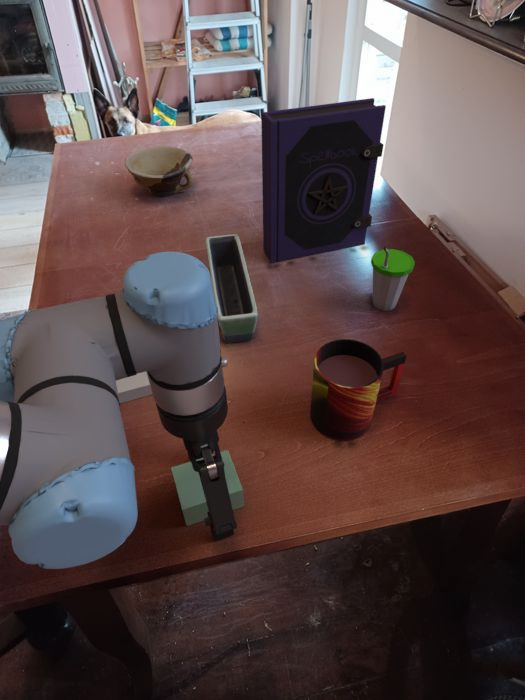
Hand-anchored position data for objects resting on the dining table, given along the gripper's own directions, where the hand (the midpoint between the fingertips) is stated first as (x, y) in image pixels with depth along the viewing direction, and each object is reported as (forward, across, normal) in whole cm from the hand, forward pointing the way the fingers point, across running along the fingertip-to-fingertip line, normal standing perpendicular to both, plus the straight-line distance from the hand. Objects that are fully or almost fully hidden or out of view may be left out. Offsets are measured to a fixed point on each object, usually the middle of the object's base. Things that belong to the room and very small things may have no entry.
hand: (210, 494), depth 66 cm
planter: (0, +40, -16) cm, 43 cm away
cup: (+1, +28, -44) cm, 52 cm away
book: (+1, +52, -40) cm, 65 cm away
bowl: (0, +93, -13) cm, 94 cm away
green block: (0, 0, 0) cm, 0 cm away
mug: (+1, +7, -25) cm, 26 cm away
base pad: (0, +32, +5) cm, 32 cm away
